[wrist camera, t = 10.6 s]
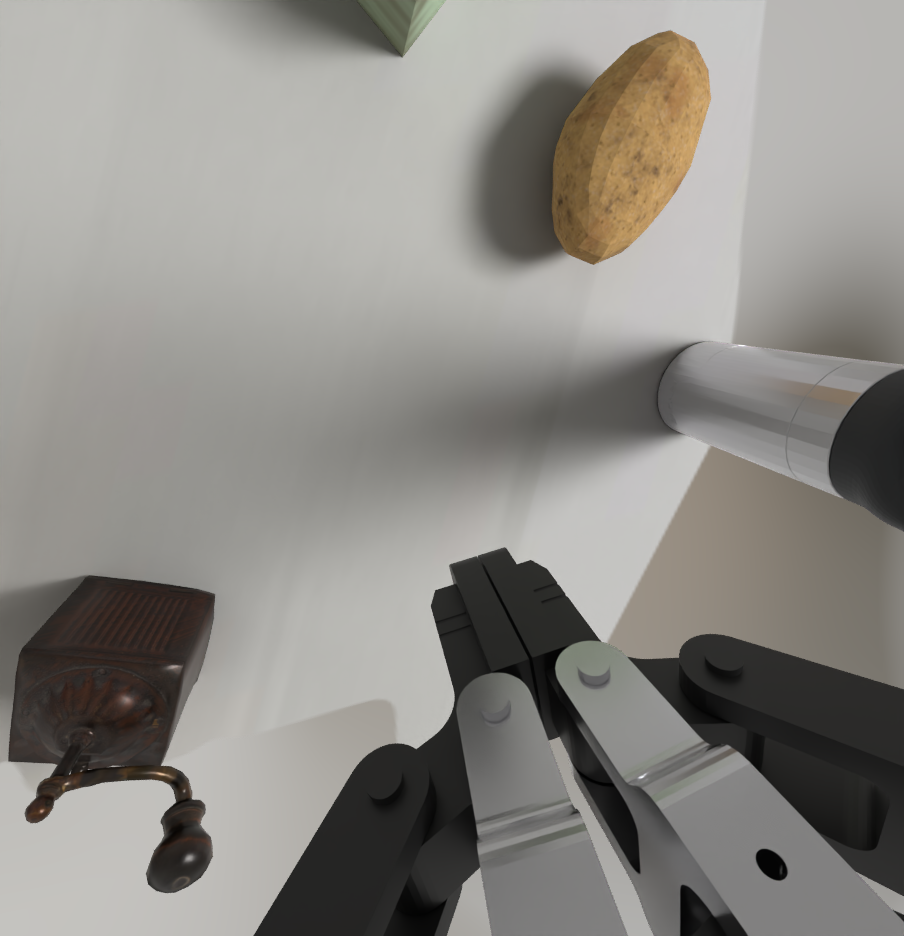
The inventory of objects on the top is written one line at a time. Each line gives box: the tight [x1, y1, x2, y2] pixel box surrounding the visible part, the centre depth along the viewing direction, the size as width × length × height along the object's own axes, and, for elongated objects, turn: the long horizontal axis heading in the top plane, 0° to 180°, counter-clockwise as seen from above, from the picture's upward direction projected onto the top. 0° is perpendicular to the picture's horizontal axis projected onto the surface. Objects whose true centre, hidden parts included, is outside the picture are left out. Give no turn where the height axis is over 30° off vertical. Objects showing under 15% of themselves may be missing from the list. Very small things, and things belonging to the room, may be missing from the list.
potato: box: [552, 31, 711, 265], centre depth 32 cm, size 10×14×8 cm
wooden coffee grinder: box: [8, 576, 215, 893], centre depth 34 cm, size 16×11×18 cm
